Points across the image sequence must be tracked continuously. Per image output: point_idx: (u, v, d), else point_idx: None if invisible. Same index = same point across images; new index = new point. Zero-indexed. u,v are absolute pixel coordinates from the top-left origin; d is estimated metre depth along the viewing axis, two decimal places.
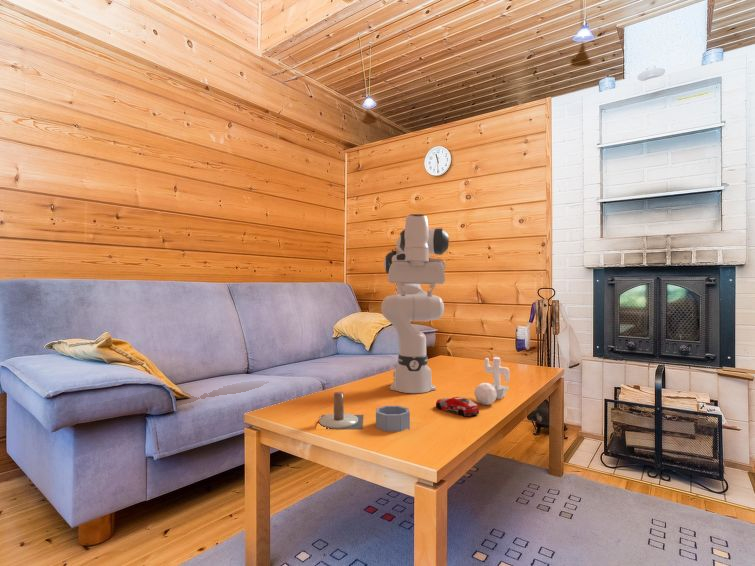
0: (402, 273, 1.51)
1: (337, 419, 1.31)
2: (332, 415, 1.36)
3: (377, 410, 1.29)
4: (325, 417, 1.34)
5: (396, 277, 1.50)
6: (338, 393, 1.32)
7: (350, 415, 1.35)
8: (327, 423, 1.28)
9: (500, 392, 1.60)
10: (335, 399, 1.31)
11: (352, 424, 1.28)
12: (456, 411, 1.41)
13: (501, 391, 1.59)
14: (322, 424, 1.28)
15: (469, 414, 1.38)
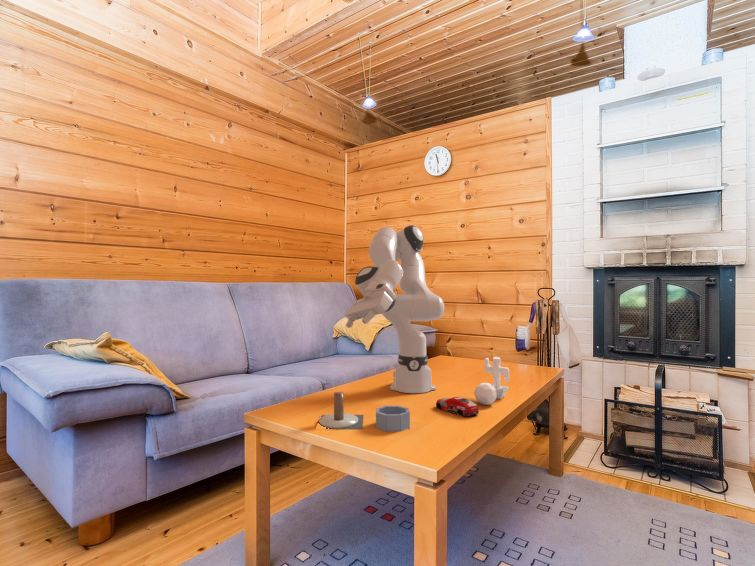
0: None
1: (337, 419, 1.31)
2: (332, 415, 1.36)
3: (377, 410, 1.29)
4: (325, 417, 1.34)
5: None
6: (338, 393, 1.32)
7: (350, 415, 1.35)
8: (327, 423, 1.28)
9: (500, 392, 1.60)
10: (335, 399, 1.31)
11: (352, 424, 1.28)
12: (455, 411, 1.41)
13: (501, 391, 1.59)
14: (322, 424, 1.28)
15: (468, 414, 1.38)
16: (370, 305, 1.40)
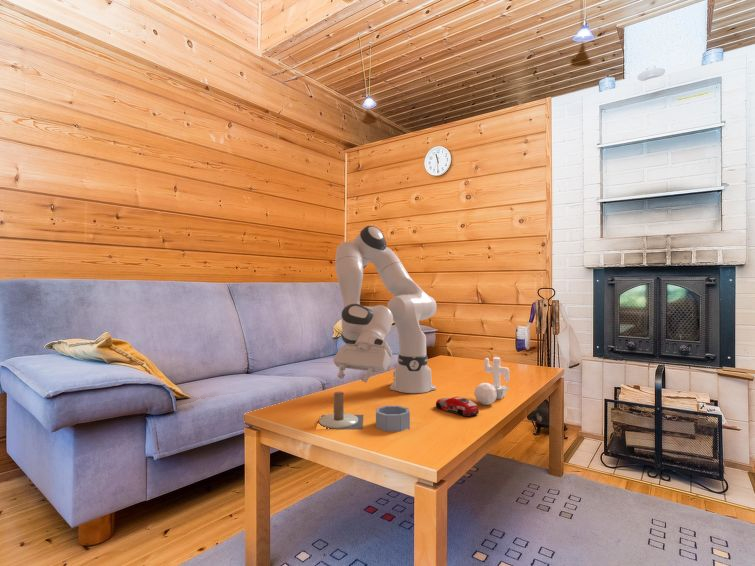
0: None
1: (337, 419, 1.31)
2: (332, 415, 1.36)
3: (377, 410, 1.29)
4: (325, 417, 1.34)
5: None
6: (338, 393, 1.32)
7: (350, 415, 1.35)
8: (327, 423, 1.28)
9: (500, 392, 1.60)
10: (335, 399, 1.31)
11: (352, 424, 1.28)
12: (455, 411, 1.42)
13: (501, 391, 1.59)
14: (322, 424, 1.28)
15: (468, 414, 1.38)
16: (369, 362, 1.39)
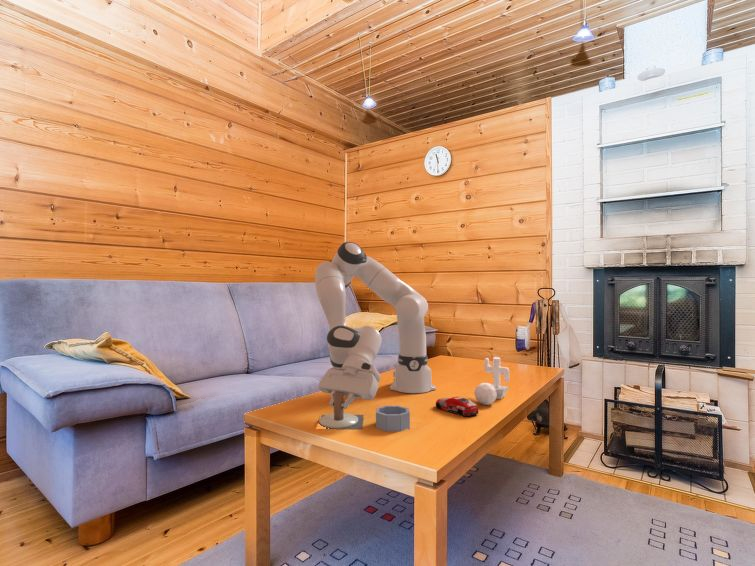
0: None
1: (337, 419, 1.31)
2: (332, 415, 1.36)
3: (377, 410, 1.29)
4: (325, 417, 1.34)
5: None
6: (338, 393, 1.32)
7: (350, 415, 1.35)
8: (327, 423, 1.28)
9: (500, 392, 1.60)
10: (335, 399, 1.31)
11: (352, 424, 1.28)
12: (455, 411, 1.42)
13: (501, 391, 1.59)
14: (322, 424, 1.28)
15: (468, 414, 1.38)
16: (356, 389, 1.32)
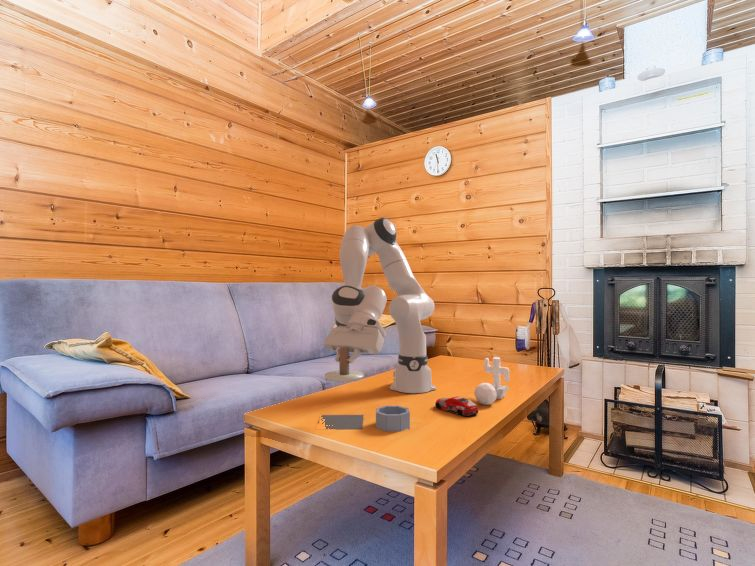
0: None
1: (343, 374, 1.31)
2: (337, 371, 1.36)
3: (377, 410, 1.29)
4: (331, 373, 1.34)
5: None
6: (344, 348, 1.32)
7: (356, 372, 1.35)
8: (332, 377, 1.27)
9: (500, 392, 1.60)
10: (341, 354, 1.31)
11: (358, 378, 1.28)
12: (455, 411, 1.42)
13: (501, 391, 1.59)
14: (328, 378, 1.28)
15: (468, 414, 1.38)
16: (362, 344, 1.31)
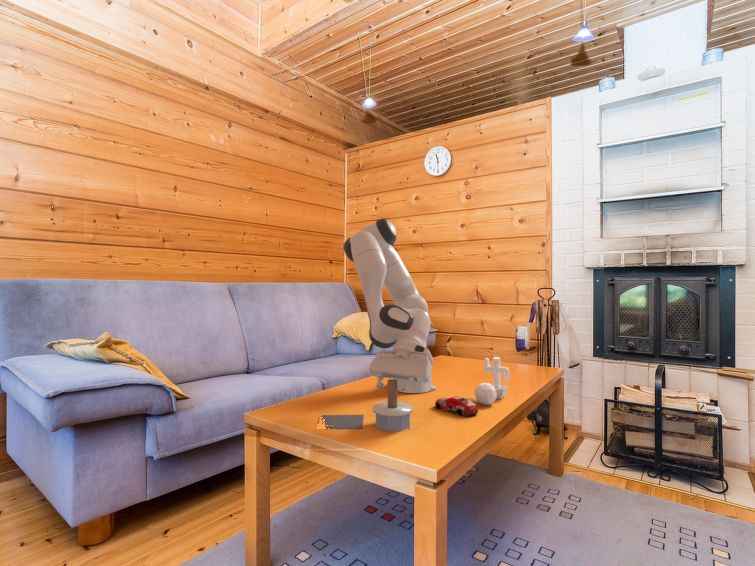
0: None
1: (391, 407, 1.28)
2: (384, 403, 1.33)
3: None
4: (378, 405, 1.31)
5: None
6: (392, 380, 1.29)
7: (403, 404, 1.32)
8: (382, 411, 1.24)
9: (500, 392, 1.60)
10: (389, 386, 1.28)
11: (408, 412, 1.25)
12: (455, 411, 1.42)
13: (501, 391, 1.59)
14: (377, 412, 1.25)
15: (467, 414, 1.38)
16: (411, 371, 1.28)
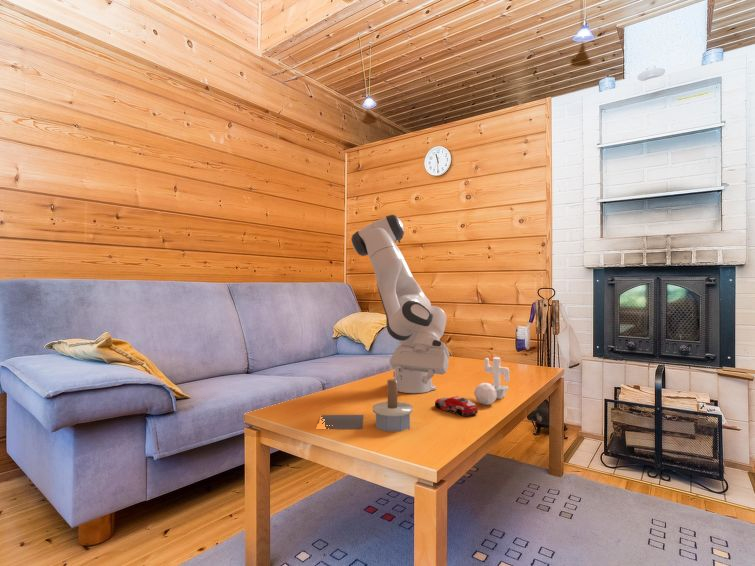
0: None
1: (391, 407, 1.28)
2: (384, 403, 1.33)
3: None
4: (378, 405, 1.31)
5: None
6: (392, 380, 1.29)
7: (403, 404, 1.32)
8: (382, 411, 1.24)
9: (500, 392, 1.60)
10: (389, 386, 1.28)
11: (408, 412, 1.25)
12: (454, 411, 1.42)
13: (501, 391, 1.59)
14: (377, 412, 1.25)
15: (467, 414, 1.38)
16: (429, 364, 1.39)
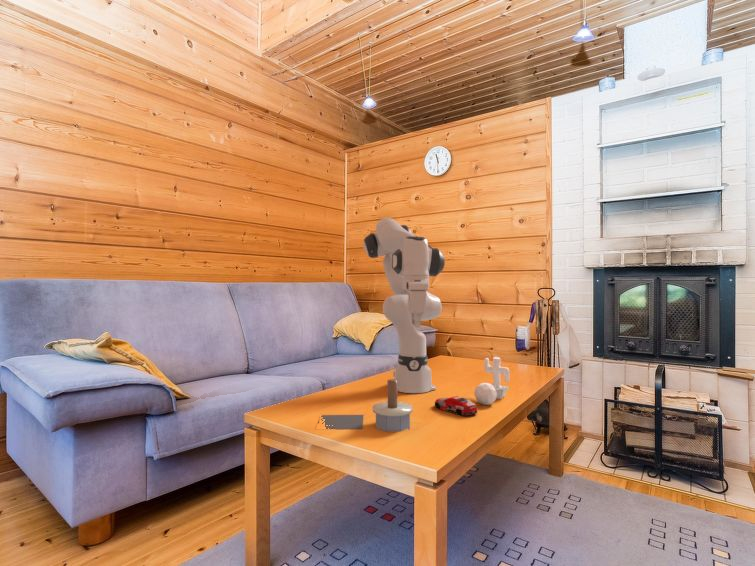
0: None
1: (391, 407, 1.28)
2: (384, 403, 1.33)
3: None
4: (378, 405, 1.31)
5: None
6: (392, 380, 1.29)
7: (403, 404, 1.32)
8: (382, 411, 1.24)
9: (500, 392, 1.60)
10: (389, 386, 1.28)
11: (408, 412, 1.25)
12: (454, 410, 1.42)
13: (501, 391, 1.59)
14: (377, 412, 1.25)
15: (467, 414, 1.38)
16: None
